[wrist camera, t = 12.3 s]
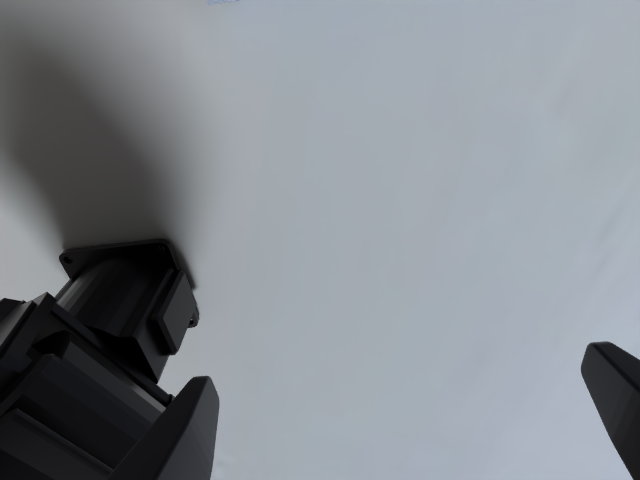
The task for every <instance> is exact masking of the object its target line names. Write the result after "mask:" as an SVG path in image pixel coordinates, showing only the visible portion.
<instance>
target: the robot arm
mask: <svg viewBox="0 0 640 480" xmlns="http://www.w3.org/2000/svg"><path fill="white" fill-rule="evenodd" d="M159 246H162V247H164V249H165V250H162V249H160V248H159ZM68 257H70V258H71V259H72V260H71V259H69V258H68ZM59 260H60V262H61V264H62V266H63V268H64V269H65V271H66V273H67V274H68V276H69V278H70V280H69V281H68V282H67V283H66V284H65V286H64V287H63V288H62V289H61V290H60V291H59V293H58V294H57V295H56V296H55V297H53V296H52V295H50V294H49V293H48V292H45V293H44V294H42V295H40V296H39V297H37V298H35V299H34V300H31V301H29V302H25V301H24V300H23V301H18V300H12V299H7V298H3V299H2V300H0V480H210V477H211V472H212V466H213V458H214V449H215V440H216V431H217V422H218V413H219V397H218V394H217V391H216V389H215V386H214V384H213V382H212V379H211V378H210V377H209V376H198V377H193V378H192V379H191V380H190V381H189V382H188V383H187V384H186V385H185V387H184V388H183V389H182V390H181V391H180V392H179V394H178V395H177V396H176V397H174V396H173V395H172V394H167V393H166V392H165V391H164V390H163V389H161V388H160V387H159V386H158V385H156V384H157V383H158V381H159V379H160V377H161V374H162V372H163V369H164V367H165V365H166V362H167V360H168V357H169V355H175V354H176V353H177V352H178V350H179V348H180V345H181V343H182V340H183V338H184V335H185V333H186V330H187V328H192V327H195V326H197V324H198V321H199V315H198V313H197V310H196V304H197V303H196V300H195V298H194V295H193V293H192V290H191V287H190V285H189V282H188V279H187V277H186V274H185V273H184V272H183V271H182V270H181V268H180V266H179V263H178V261H177V258H176V255H175V253H174V250H173V248H172V245H171V244H170V242H169V241H167V240H165V239H153V240H145V241H136V242H127V243H118V244H109V245H100V246H91V247H83V248H74V249H67V250H65V251H64V252H63V253H62V254H61V255H60V256H59ZM191 319H192V320H191ZM581 373H582V377H583V379H584V381H585V384H586V386H587V388H588V390H589V393H590V395H591V397H592V399H593V402H594V404H595V406H596V408H597V410H598V413H599V415H600V417H601V419H602V422H603V424H604V426H605V428H606V431H607V433H608V435H609V437H610V439H611V441H612V443H613V445H614V446H615V448H616V450H617V452H618V454H619V455H620V457H621V459H622V461H623V462H624V464H625V466H626V468H627V469H628V471H629V473H630V475H631V476H632V478H633V480H640V360H639V359H637V358H636V357H634V356H633V355H631V354H629V353H628V352H626V351H624V350H623V349H621V348H619V347H618V346H616V345H614V344H613V343H610V342H605V341H604V342H593V343H590V344H589V345H588V346H587V348H586V351H585V355H584V358H583V361H582V364H581Z"/></svg>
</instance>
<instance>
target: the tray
mask: <svg viewBox="0 0 640 480" xmlns="http://www.w3.org/2000/svg"><path fill="white" fill-rule="evenodd" d="M233 1H239V0H207V4H208V5H213V4H220V3H226V2H233Z"/></svg>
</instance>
